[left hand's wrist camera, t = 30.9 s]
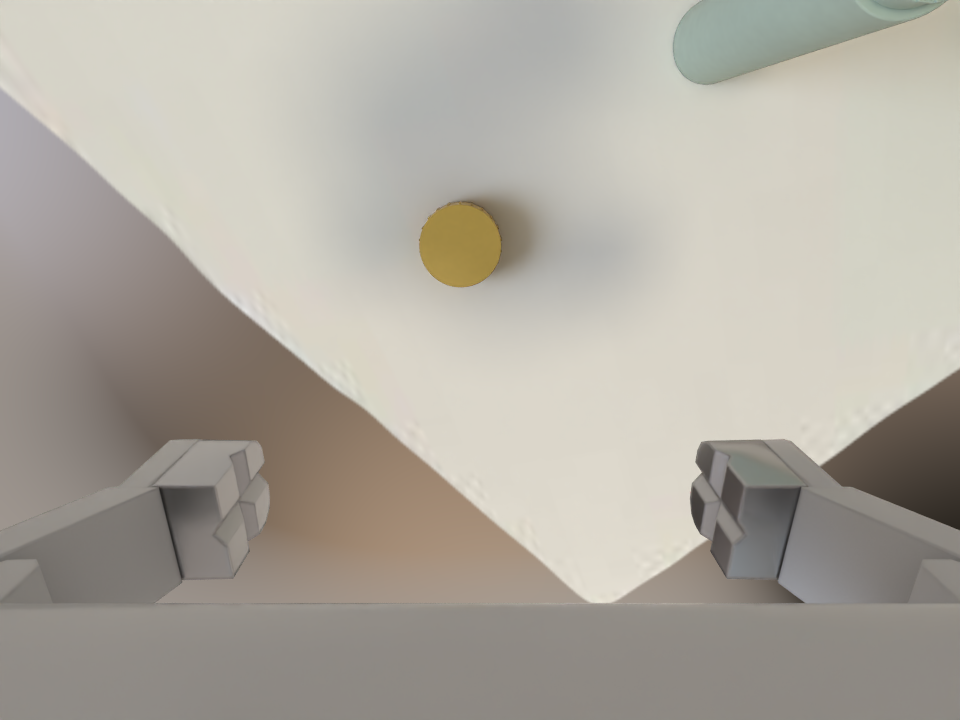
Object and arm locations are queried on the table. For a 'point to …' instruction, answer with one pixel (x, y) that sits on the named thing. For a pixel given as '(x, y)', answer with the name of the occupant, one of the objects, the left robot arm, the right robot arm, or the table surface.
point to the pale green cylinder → (776, 31)
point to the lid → (460, 244)
